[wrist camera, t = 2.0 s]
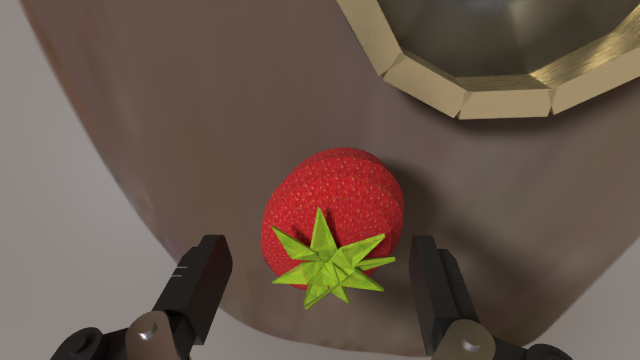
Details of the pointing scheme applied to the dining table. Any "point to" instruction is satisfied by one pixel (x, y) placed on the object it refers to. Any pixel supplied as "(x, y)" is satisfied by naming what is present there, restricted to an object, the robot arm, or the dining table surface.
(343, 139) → the dining table surface
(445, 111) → the tan rimmed round bowl
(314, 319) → the dining table surface
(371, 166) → the strawberry
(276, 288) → the dining table surface
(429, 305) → the robot arm
